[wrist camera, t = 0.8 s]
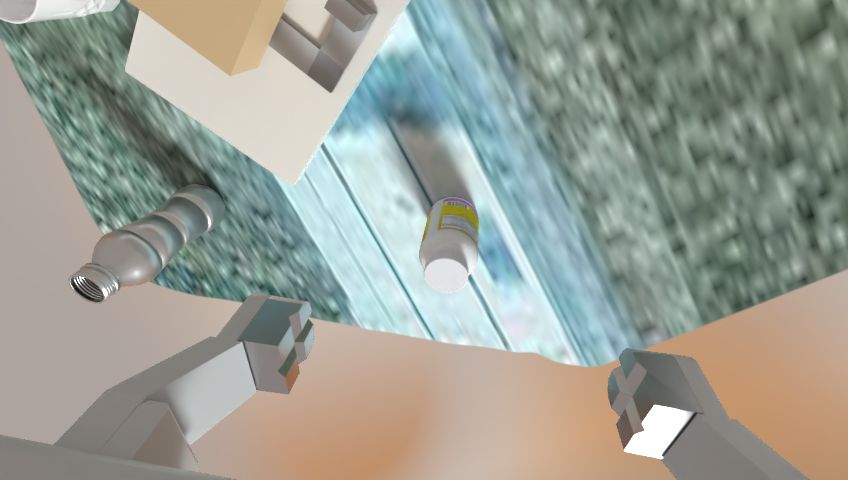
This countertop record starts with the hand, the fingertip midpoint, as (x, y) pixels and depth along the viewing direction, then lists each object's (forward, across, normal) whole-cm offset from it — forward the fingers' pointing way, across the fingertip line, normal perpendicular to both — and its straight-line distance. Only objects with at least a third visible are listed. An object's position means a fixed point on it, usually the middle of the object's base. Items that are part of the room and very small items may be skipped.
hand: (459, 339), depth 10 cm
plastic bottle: (+37, +36, +20) cm, 55 cm away
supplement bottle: (+37, +1, +18) cm, 41 cm away
